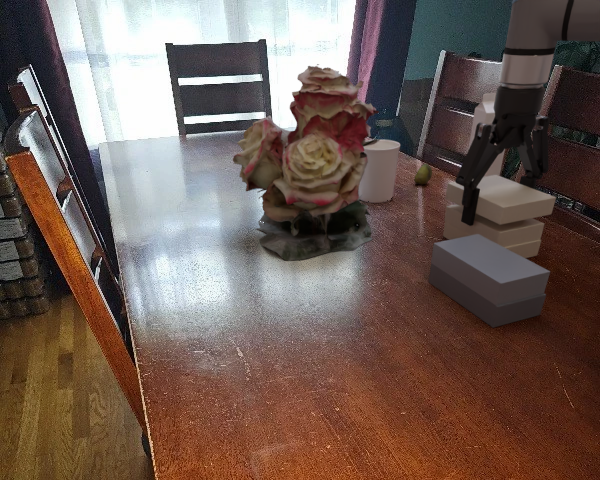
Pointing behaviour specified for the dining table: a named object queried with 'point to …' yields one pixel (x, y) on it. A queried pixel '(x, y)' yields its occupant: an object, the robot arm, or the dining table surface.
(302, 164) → the rose bouquet
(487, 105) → the milk
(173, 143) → the dining table surface
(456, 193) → the cream book
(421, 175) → the lime
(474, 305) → the grey stack
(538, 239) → the cream stack
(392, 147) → the white cup
